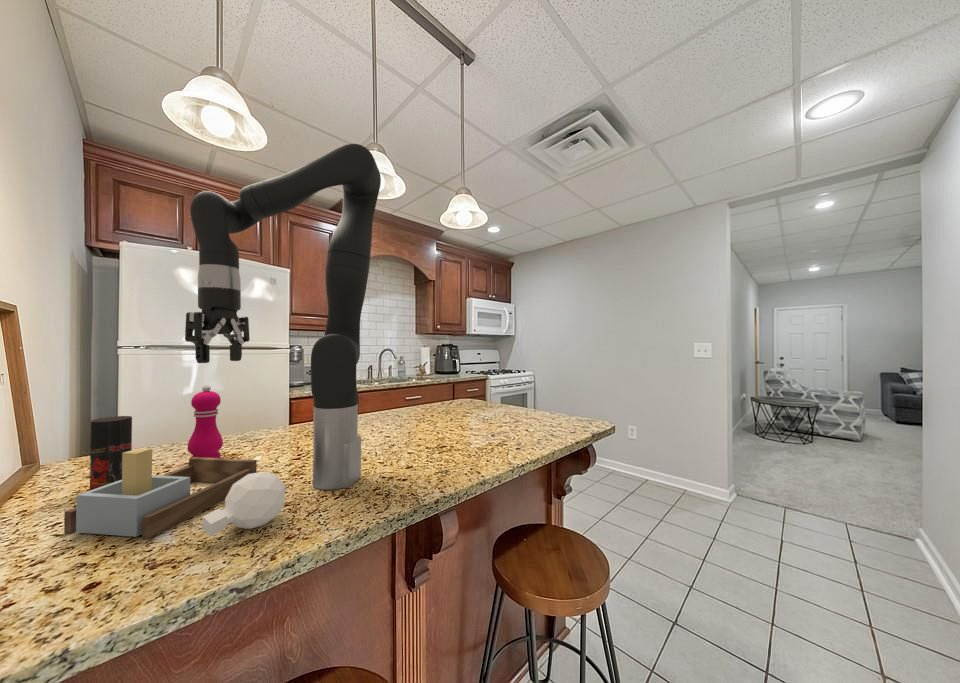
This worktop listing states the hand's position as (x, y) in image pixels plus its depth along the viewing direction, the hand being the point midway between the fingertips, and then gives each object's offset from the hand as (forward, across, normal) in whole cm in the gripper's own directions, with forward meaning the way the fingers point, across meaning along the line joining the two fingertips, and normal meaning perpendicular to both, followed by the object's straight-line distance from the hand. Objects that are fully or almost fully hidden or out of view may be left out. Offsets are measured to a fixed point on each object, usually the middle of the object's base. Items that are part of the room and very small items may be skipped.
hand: (220, 361), depth 76 cm
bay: (+27, -10, +1) cm, 29 cm away
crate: (+27, -16, +1) cm, 31 cm away
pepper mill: (+27, +13, +16) cm, 34 cm away
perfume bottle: (+27, -16, -19) cm, 37 cm away
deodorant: (+27, -5, +20) cm, 34 cm away
